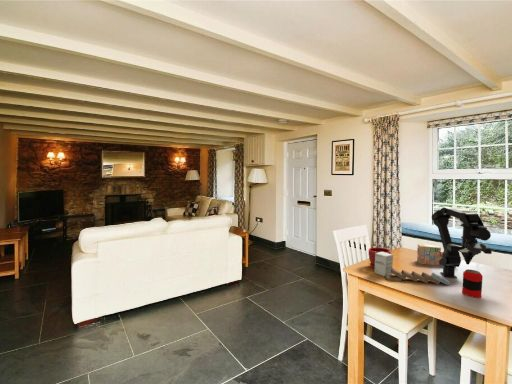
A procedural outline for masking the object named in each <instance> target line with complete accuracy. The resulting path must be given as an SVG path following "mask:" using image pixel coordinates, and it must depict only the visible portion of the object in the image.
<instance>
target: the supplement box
mask: <svg viewBox="0 0 512 384" xmlns="http://www.w3.org/2000/svg"><path fill="white" fill-rule="evenodd" d="M393 262H394V254H389V253H385V252H378V253H375V268H374V274H377V275H379V276H383V277H384V276H385V275H393V274H392V273H391V269H392V268H393V264H394V263H393Z"/></svg>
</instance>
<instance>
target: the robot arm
mask: <svg viewBox="0 0 512 384" xmlns="http://www.w3.org/2000/svg"><path fill="white" fill-rule="evenodd" d="M452 217H453V218H455V219H458V220H459V222H461V224H460V227H462V236H461V237H460V238H461V239H462V241H461V243H460V245H457V244H455V243H453V241H452V238H451V234H450V230H449V228H448V227H449V226H448V225H449V223H450V220H449V219H451V218H452ZM431 220H432V223H433V224H434V226H436V227H437V229H438V233H439V236H440V240H441V244H442V248H443V250H444V251H443V254H442V257H443V258H441V259H440V260H439V264H440V265H439V266H441V265H442V272H439V273H440V274H441V276H442V277H443V278H455V279H457V278H458V276H457V275H455V272H456V269H455V268H459V267H460V265H461V263H462V257H463V259H464V261H465V264H466V265H470V263H471V262H472V260H473V258H474V257H476V255H479V254H481V253H484V254H487V255H491V254H492V252H493V251H492V248H490V247H488V246H486V244H485V243H479V242H478V240H479V241H480V240H481V241H484V242H485V241H486V242H487V241H488V240H489V239H490V238H491V236H492V234H491V232H490V231H489V230H488V226H487V227H486V226H485V225H484V221H482V218H481V216H480V215H479V214H478V213H477V212H465V211H462V210H460V209H457V208H453V207H449V206H444V207H442V208H441V209H439V210H437V211H435V212H433V214H432V215H431ZM460 253H461V254H462V257H461V254H460Z"/></svg>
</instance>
